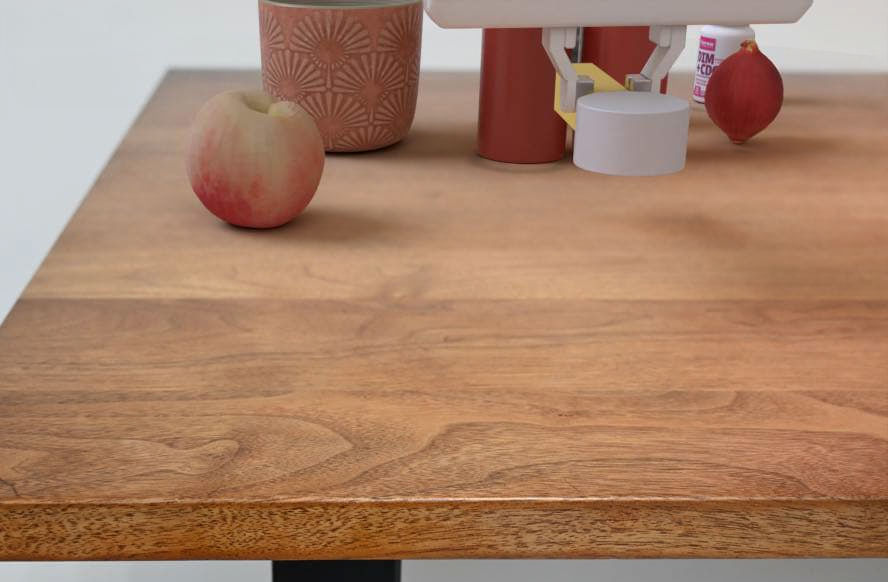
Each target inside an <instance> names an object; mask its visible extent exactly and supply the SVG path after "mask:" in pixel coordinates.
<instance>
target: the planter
mask: <svg viewBox="0 0 888 582" xmlns="http://www.w3.org/2000/svg"><path fill="white" fill-rule="evenodd" d="M257 11H258V12H257V13H258V29H259V30H258V31H259V32H258V33H259V48H260V66H261V78H262V90H263V91H266V92H268V93H270V94H272V95H274V96H276V97H277V98H278V99H279V100H280V101H289V102H294V103H296V104H298V105H300V106H301V107H302V108H304V109H305V110H306V111H307V112H308V114H309V115H310V116H311V118H312V119H313V121H314V122H315V124H316V126H317V128H318V131H319V133H320V136H321V139H322V142H323V146H324V152H325V153H327V152H328V153H355V152H368V151H374V150H379V149H383V148H386V147H389V146H391V145H393V144H394V145H395V144H396V143H397V142H399V141H401V140H402V139H403V138H404V137H405V136H406V135H407V134H408V132H409V131H410V129H411V127H412V125H413V122H414V119H415V115H416V109H417V103H418V97H419V88H420V87H419V86H420V77H421V76H420V75H421V62H422V61H421V60H422V43H423V27H424V26H423V25H424V11H425V10H424V8H423V3H422V0H257Z"/></svg>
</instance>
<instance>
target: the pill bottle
mask: <svg viewBox="0 0 888 582" xmlns="http://www.w3.org/2000/svg"><path fill="white" fill-rule="evenodd" d="M746 39H753V40H755V41H756V31H755V30H754V29H753V28H752V27H751V24H731V25H703V27H702V28H701V29H700V32H699V39H698V48H697V55H696V56H697V57H696V66H695V75H694V83H693V91H692V99H693V100H695V101H696V102H699V103H702V104H705V100H704V95H705V90H706V85H707V83H708V80H709V78H710V76H711V75H712V73H713V71H714V70H715V69H716V68H717V67H718V65H719V64H720V63H721V62H722V61H723V60H725V59H726V58H727V57H729V56H730V55H732V54H734V53H736V52H738V51H739V50H740V48H741V46H740V43H742V42H743V41H744V40H746Z"/></svg>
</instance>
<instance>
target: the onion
mask: <svg viewBox="0 0 888 582" xmlns="http://www.w3.org/2000/svg"><path fill="white" fill-rule="evenodd" d="M740 46H741V48H740V50H739V51H738V52H736V53H734V54H732V55H730V56H729V57H727V58H726V59H725V60H723V61H722V62H721V63H720V64H719V65H718V67H717V68H716V69H715V70H714V71H713V73H712V75H711V76H710V78H709V80H708V83H707V85H706V90H705V95H704V100H705V103H704V108H705V110H706V113H707V115H708V118H710V120H711V121H712V122H713V124H714V125H715V126H717V127H718V128H719V130H721V132H723V134H724V135H726V137H727V138H728V140H729V141H730V142H732V143H733V144H739V145H740V144H744V143H747V142H748V141H749V140H750V139H751V138H753V137H755V136H757V135H758V134H760V133H761V132H762V131H765V129H767V128H768V127H769V126H770V125H771V124H772V123H773V122H774V121H775V119H776V117H777V116H778V115H779V113H780V112H781V109H782V106H783V102H784V99H785V98H784V97H785V96H784V93H785V88H784V83H783V82H784V81H783V78H782V76H781V73H780V71H779V69H778V68H777V66H776V65H775V64H774V62H772V60H771V59H770V58H769V57H768V56H766V54H764V53H763V52H762V51H761V50H760V48H759V46H758V44H757V41H756V39H755V40H753V39H746V40H744V41H743V42H742V43H740Z"/></svg>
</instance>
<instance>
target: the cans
mask: <svg viewBox="0 0 888 582" xmlns="http://www.w3.org/2000/svg"><path fill="white" fill-rule="evenodd" d="M542 31H543V27H536V28H481V45H480V47H481V48H480V65H479V67H480V68H479V69H480V70H479V89H478V90H479V91H478V110H477V111H478V113H477V136H476V154H478V155H479V156H480V157H483V158H485V159H488V160H491V161H496V162H502V163H512V164H543V163H549V162H554V161H558V160H561V159H563V158H564V157H565V155H566V148H567V147H566V145H567V133H568V123H567V122H566V121H565V120H564V119H563V118H562V117H561V116H560V115H559V114H558V113H557V112H556V111H555V110H554V102H555V84H556V69H555V68H554V66H553V64H552V62H551V60H550V58H549V56H548V54H547V52H546V50H545V48H544V46H543V45H542ZM649 31H650V26H601V27H580V37H579V51H578V63H593V64H594V65H595V66H597V67H598V68H599V69H601V70H602V71H603V72H605V73H606V74H607V75H609V76H610V77H611V78H613V79H614V80H615V81H617V82H618V83H620V84H621V85H622V86H624V87H625V79H626V75H628V74H641V71H642V70H643V68H644V66H645V65H646V63H647V61H648V60H649V58H650V56H651V55H652V53H653V51H654V50H655V48H656V47H657V44H655V43H653V42H652V41H650V40H649ZM564 50H565V52H566V54H567V56H568V58H569V60H570V62H571V63H572V51H573V48H568V49H567V48H565V47H564ZM669 71H670V70H669ZM669 71H668V73H667V74H666V76H665V77H664V79H661V84H660V94H667V91H668V81H669ZM574 139H575V130H574V129H573V128H572V133H571V146H570V151H571V153H572V154H573V155H574Z"/></svg>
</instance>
